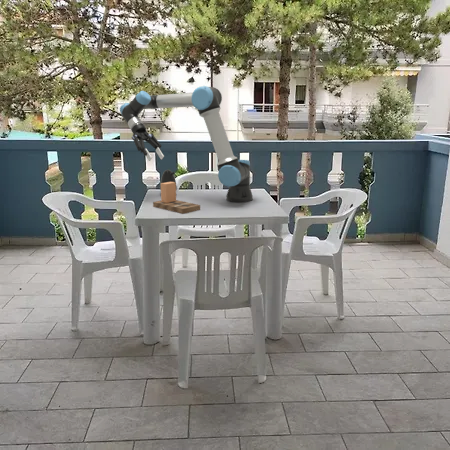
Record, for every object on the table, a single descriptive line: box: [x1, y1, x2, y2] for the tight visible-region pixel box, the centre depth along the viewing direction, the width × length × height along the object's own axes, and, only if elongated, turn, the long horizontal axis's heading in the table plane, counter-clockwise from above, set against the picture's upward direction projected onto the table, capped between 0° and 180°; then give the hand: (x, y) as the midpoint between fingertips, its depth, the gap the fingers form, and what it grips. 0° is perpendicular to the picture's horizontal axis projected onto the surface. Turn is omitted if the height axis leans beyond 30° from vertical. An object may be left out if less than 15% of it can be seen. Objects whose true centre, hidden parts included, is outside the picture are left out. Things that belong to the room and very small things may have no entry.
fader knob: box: [160, 182, 177, 203], centre depth 237 cm, size 4×7×10 cm, turn 137°
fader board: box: [152, 199, 201, 215], centre depth 235 cm, size 24×12×3 cm, turn 47°
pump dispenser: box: [159, 169, 178, 191], centre depth 268 cm, size 10×10×15 cm
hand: (156, 158), depth 242 cm, fingers open, 8 cm apart
